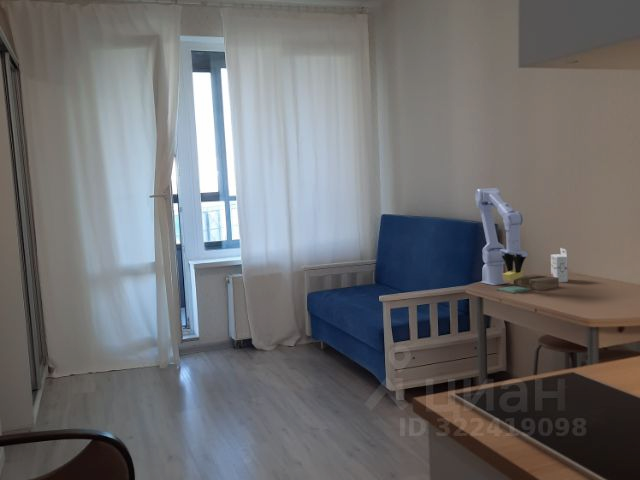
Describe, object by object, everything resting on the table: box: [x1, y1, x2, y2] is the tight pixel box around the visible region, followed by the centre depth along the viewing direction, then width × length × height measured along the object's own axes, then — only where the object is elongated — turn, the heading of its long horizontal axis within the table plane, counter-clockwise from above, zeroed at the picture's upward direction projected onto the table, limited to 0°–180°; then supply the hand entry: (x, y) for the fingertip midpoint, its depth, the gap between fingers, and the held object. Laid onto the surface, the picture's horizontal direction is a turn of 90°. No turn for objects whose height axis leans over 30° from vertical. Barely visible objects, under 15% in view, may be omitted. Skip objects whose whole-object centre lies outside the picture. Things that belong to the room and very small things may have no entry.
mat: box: [496, 285, 532, 294], centre depth 268 cm, size 10×10×1 cm
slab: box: [502, 268, 525, 282], centre depth 267 cm, size 4×8×3 cm, turn 116°
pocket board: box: [513, 273, 560, 291], centre depth 273 cm, size 14×12×4 cm
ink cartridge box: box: [550, 247, 569, 283], centre depth 282 cm, size 9×5×15 cm, turn 179°
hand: (514, 271), depth 267 cm, fingers closed on slab, 4 cm apart
